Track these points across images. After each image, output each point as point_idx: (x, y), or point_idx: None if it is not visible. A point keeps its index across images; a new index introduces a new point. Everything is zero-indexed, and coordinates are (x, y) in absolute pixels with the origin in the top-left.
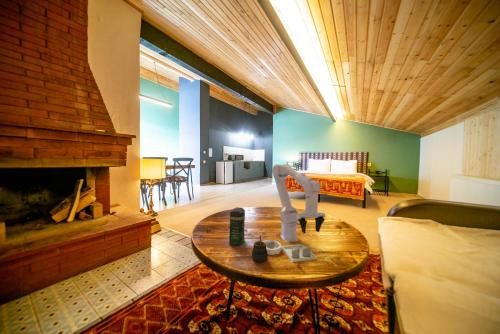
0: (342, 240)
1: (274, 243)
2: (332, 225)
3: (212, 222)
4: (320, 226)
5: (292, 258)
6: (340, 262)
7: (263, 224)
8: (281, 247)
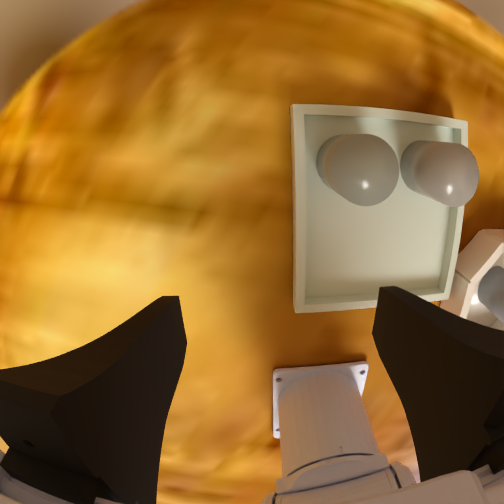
0: (11, 320)
1: None
2: None
3: None
4: (119, 330)
5: (462, 136)
6: (133, 66)
7: None
8: (466, 273)
